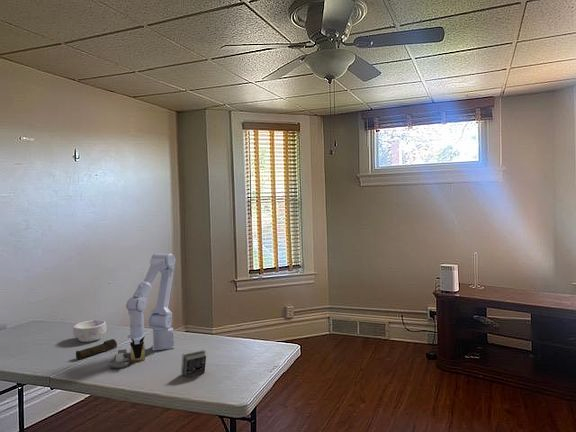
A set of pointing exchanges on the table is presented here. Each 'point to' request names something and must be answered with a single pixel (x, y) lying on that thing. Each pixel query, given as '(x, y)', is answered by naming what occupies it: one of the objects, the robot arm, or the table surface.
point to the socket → (140, 357)
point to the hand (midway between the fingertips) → (138, 355)
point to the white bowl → (89, 330)
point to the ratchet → (120, 360)
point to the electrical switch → (193, 363)
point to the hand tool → (97, 349)
